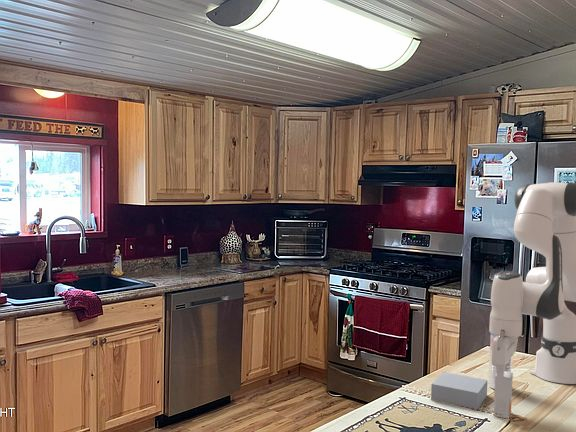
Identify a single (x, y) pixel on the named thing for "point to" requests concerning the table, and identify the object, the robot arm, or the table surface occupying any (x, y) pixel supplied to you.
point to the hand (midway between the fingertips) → (503, 374)
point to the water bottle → (493, 368)
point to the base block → (459, 390)
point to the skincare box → (503, 395)
